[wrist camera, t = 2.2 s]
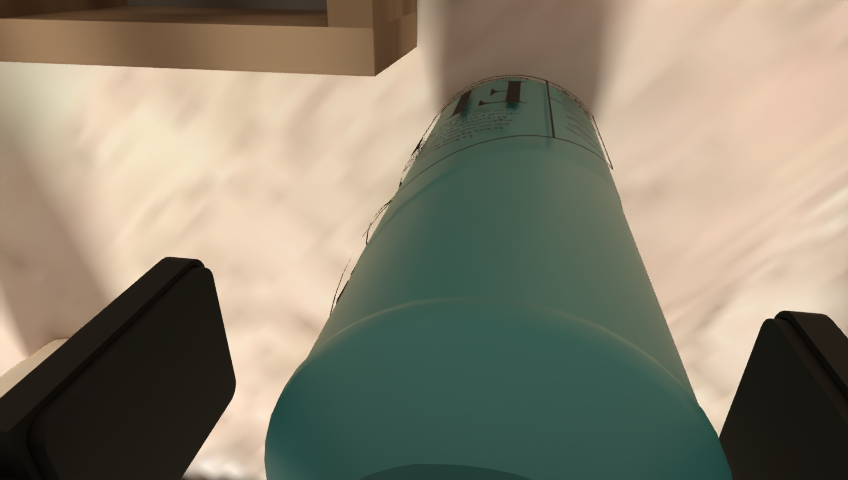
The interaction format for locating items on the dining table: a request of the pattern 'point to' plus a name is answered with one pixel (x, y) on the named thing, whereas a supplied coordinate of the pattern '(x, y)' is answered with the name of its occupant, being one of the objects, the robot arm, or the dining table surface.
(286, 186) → the dining table surface
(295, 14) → the u rest
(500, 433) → the beverage bottle
